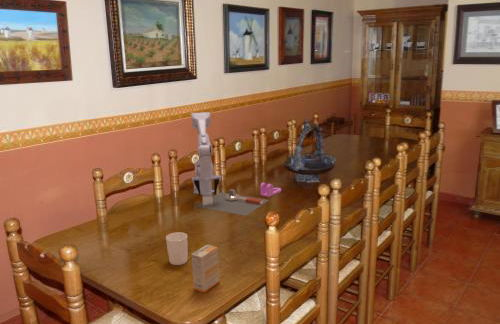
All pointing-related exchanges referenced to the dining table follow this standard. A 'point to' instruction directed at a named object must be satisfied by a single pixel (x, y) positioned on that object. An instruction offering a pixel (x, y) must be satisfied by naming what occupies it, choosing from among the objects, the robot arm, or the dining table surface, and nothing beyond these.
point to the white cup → (177, 248)
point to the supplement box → (205, 268)
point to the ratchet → (242, 198)
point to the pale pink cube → (208, 199)
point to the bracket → (268, 190)
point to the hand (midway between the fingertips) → (207, 194)
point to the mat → (231, 205)
